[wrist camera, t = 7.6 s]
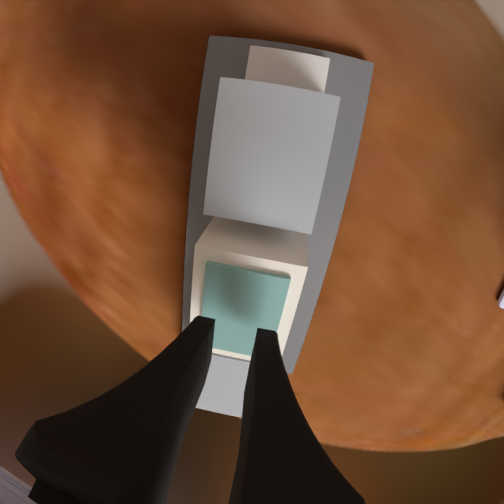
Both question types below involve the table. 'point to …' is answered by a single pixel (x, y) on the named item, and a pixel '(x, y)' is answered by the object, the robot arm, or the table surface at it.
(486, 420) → the table surface
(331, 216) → the board
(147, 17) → the table surface
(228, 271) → the cream module
